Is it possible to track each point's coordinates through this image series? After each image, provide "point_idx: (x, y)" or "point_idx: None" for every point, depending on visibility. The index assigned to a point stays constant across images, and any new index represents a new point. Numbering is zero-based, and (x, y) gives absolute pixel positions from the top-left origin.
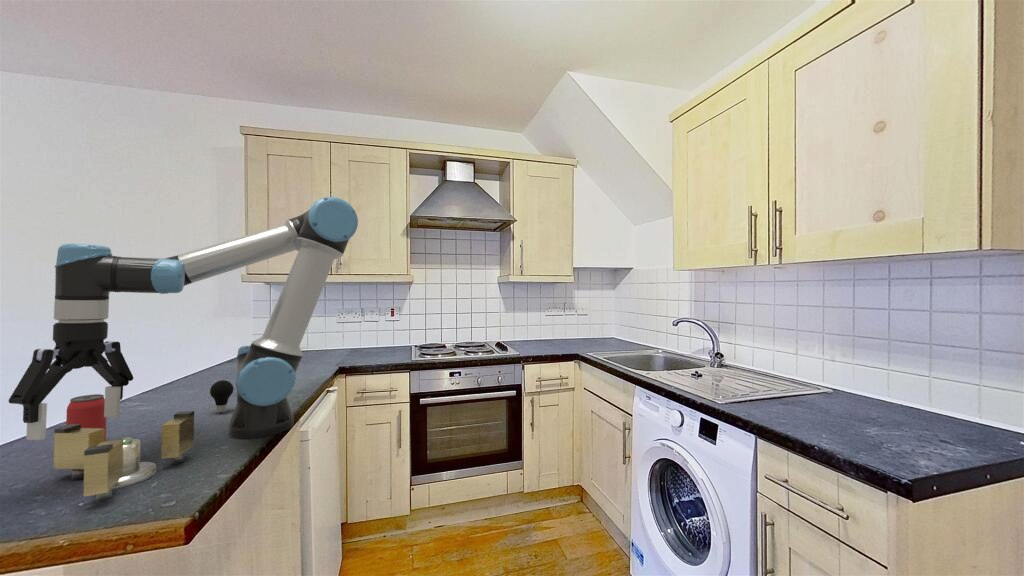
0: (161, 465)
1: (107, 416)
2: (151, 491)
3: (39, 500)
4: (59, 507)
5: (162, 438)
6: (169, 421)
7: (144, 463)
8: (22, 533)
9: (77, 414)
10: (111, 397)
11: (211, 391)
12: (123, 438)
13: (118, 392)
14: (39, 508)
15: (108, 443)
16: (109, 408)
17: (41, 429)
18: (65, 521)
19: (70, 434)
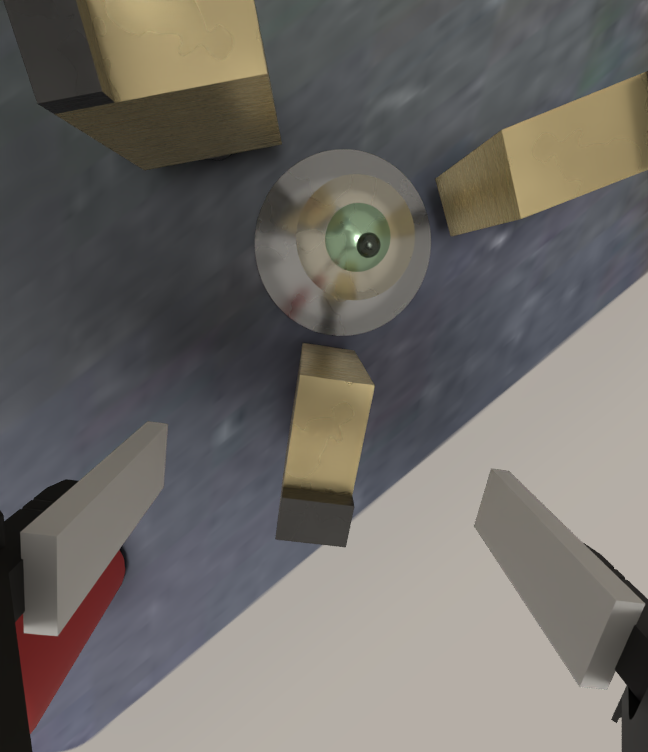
0: (240, 190)
1: (164, 471)
2: (458, 65)
3: (452, 374)
4: (508, 284)
5: (273, 107)
6: (189, 79)
7: (268, 229)
8: (634, 257)
9: (45, 674)
10: (108, 521)
11: None
12: (343, 249)
13: (74, 504)
14: (501, 333)
15: (552, 163)
16: (143, 487)
17: (533, 497)
18: (600, 197)
19: (357, 465)
